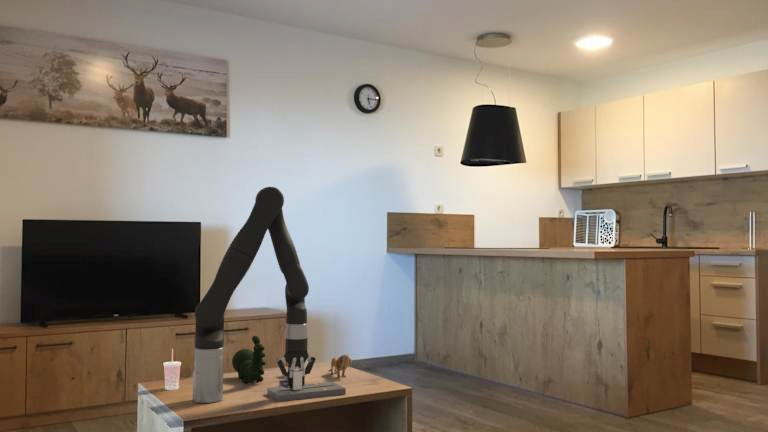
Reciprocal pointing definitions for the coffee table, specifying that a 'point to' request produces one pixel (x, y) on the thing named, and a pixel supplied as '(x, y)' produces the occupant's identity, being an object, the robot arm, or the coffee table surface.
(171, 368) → the beverage cup
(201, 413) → the coffee table surface
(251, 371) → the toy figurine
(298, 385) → the cylinder
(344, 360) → the lion figurine
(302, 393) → the console
